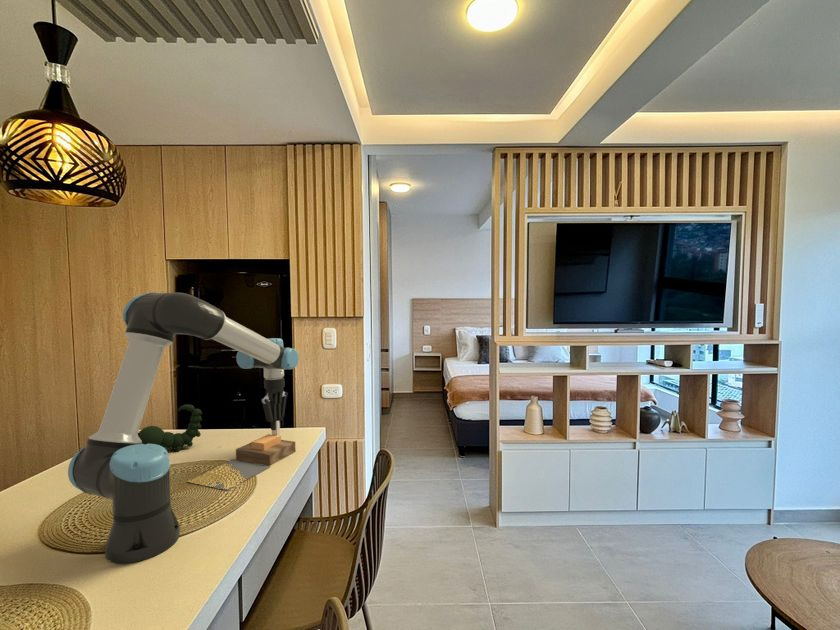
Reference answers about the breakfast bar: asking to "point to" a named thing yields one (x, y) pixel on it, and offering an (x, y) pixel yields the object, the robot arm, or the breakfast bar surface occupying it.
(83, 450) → the robot arm
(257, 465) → the charcoal mat
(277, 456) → the walnut deck
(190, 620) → the breakfast bar surface
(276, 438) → the orange brown block
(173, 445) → the toy figurine
